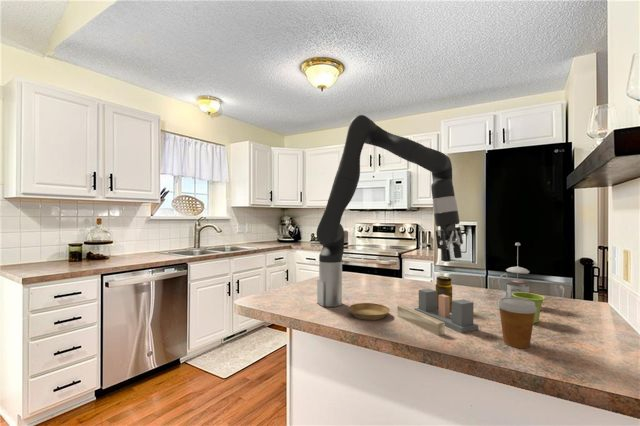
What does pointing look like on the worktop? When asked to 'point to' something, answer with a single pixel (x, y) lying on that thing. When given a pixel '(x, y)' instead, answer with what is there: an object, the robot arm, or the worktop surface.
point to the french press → (517, 282)
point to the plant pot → (534, 298)
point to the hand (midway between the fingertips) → (452, 259)
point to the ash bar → (422, 320)
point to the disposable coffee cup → (517, 321)
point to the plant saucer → (369, 311)
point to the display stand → (447, 310)
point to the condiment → (444, 289)
